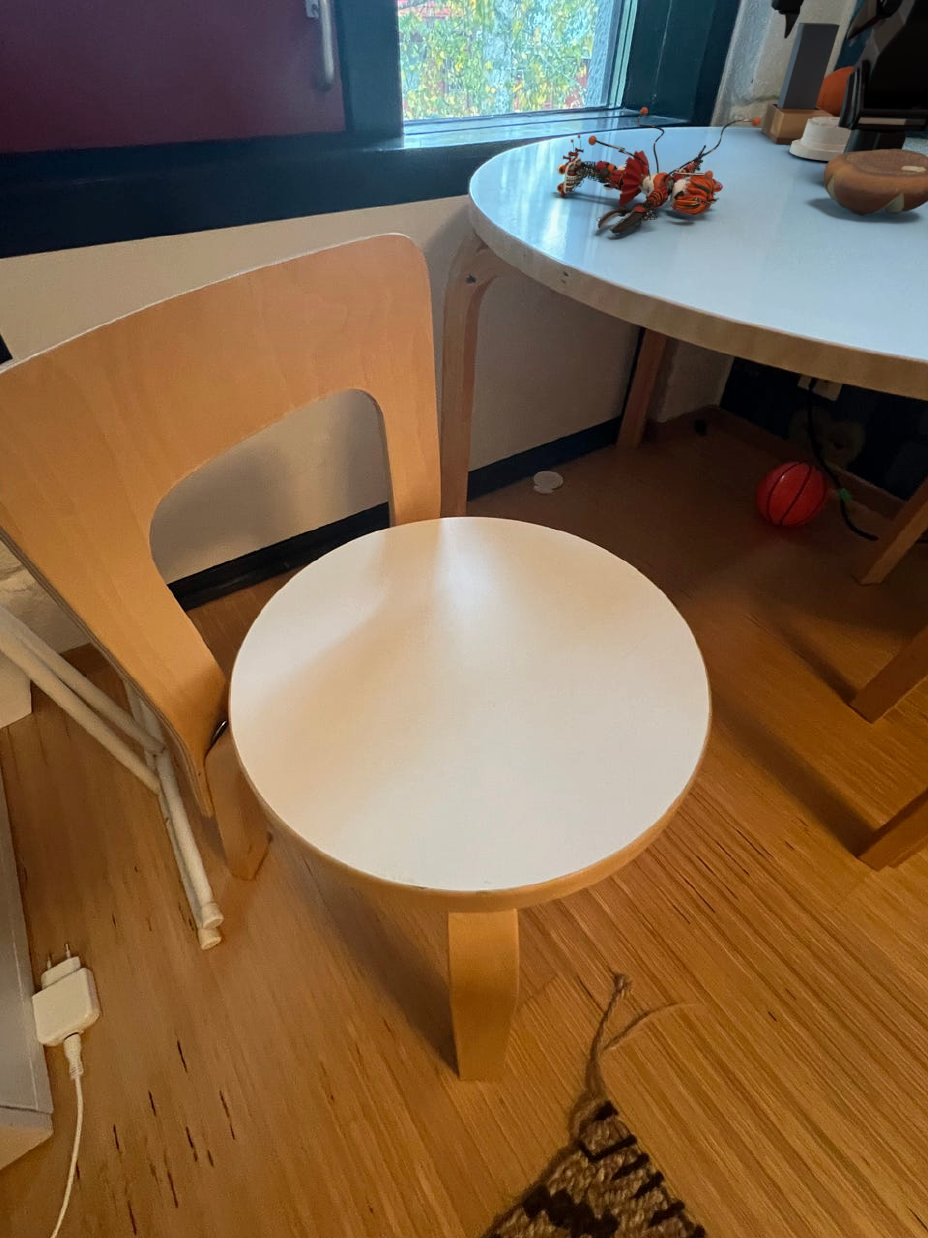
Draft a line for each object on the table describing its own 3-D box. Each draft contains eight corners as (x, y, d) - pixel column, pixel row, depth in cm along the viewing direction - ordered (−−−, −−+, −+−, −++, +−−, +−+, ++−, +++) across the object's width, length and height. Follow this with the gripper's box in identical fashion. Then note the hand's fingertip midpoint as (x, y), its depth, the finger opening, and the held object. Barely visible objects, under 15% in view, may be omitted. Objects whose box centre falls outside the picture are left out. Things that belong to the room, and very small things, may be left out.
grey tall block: (807, 132, 110) (839, 24, 101) (775, 130, 110) (805, 23, 101) (802, 128, 112) (833, 23, 103) (771, 127, 113) (799, 22, 104)
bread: (908, 141, 78) (889, 191, 82) (813, 151, 77) (799, 200, 81) (972, 170, 71) (949, 223, 75) (869, 181, 70) (850, 234, 74)
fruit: (807, 117, 125) (823, 61, 120) (859, 122, 122) (878, 64, 117) (800, 124, 119) (817, 66, 114) (855, 129, 117) (875, 69, 111)
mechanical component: (822, 165, 95) (877, 161, 98) (834, 127, 92) (891, 123, 95) (774, 151, 102) (826, 148, 105) (784, 115, 99) (838, 112, 102)
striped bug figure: (497, 231, 74) (667, 280, 68) (502, 137, 68) (692, 181, 61) (596, 161, 88) (747, 196, 81) (609, 76, 81) (774, 107, 74)
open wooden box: (823, 145, 106) (833, 115, 103) (775, 143, 107) (784, 113, 104) (805, 133, 114) (814, 104, 111) (761, 131, 114) (768, 103, 111)
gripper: (952, -132, 87) (884, -15, 103) (801, -134, 88) (756, -18, 104) (947, -46, 87) (879, 58, 102) (796, -50, 88) (751, 54, 103)
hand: (816, 36), depth 103 cm, fingers open, 9 cm apart
